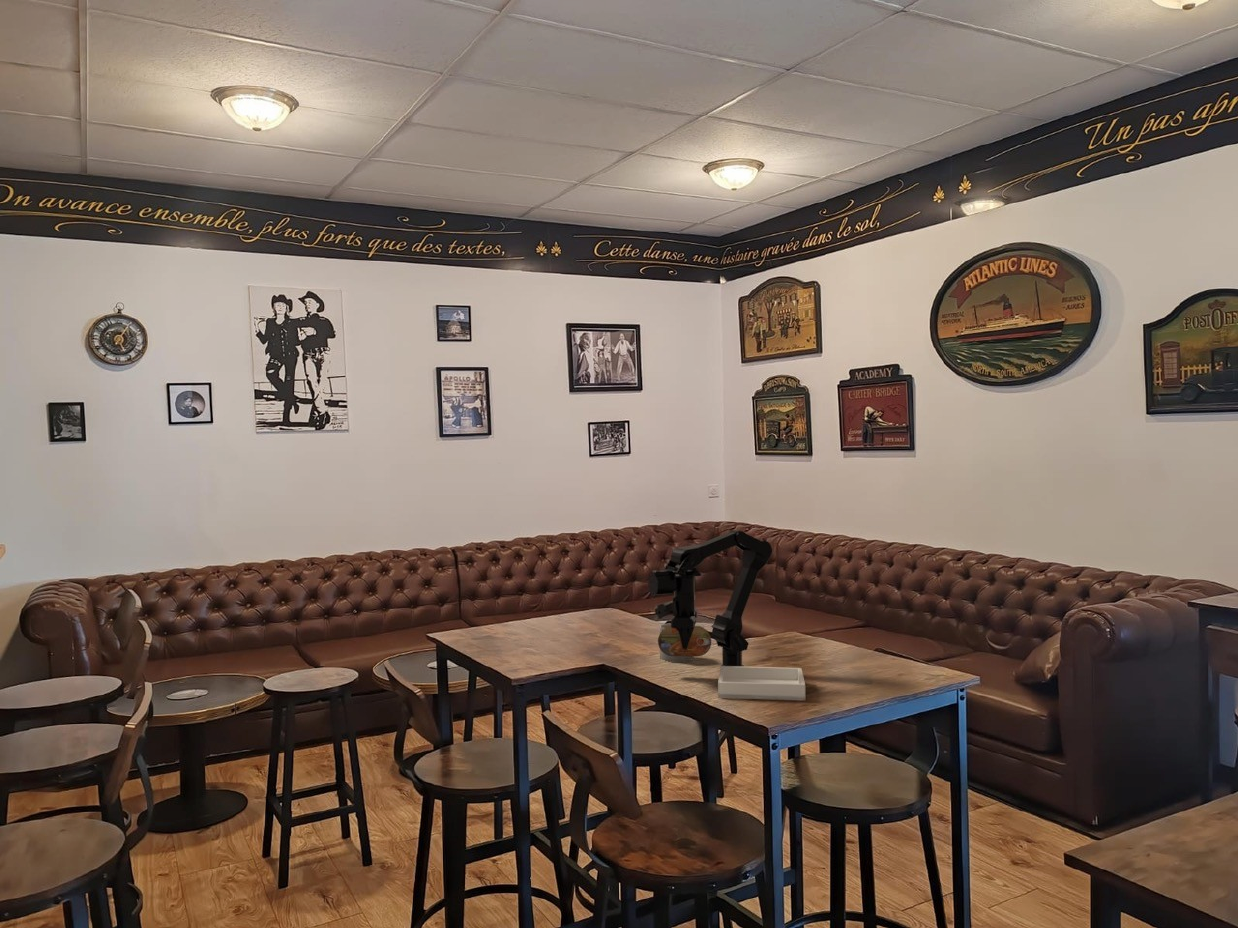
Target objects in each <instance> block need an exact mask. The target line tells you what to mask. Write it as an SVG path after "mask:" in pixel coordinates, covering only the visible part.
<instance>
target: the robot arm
mask: <svg viewBox="0 0 1238 928" xmlns="http://www.w3.org/2000/svg"><path fill="white" fill-rule="evenodd" d="M734 547H737V548H738V549H739V550H741V551H742V554H741V561H742V567H741V570H740V572H739V576H738V578H737V581H736V583H735V586H734V588H733V591H732V594H731V596H730V599H729V602H728V604H727V607H726V609H725V611H724V613H722V614H721V615H720V614H717V613H716V615H715V618H714V622H713V624H712V625H711V628H712V630H711V635H712V637H713V639H714V640H715V642H716V645H717V647H720V648H722V649H721V650H722V651H721V652H722V653H721V654H722V657H721V658H722V660H721V663H722V664H720V666H741V667H745V665H744V664H743V652H744V651H747V650H748V648H749V647H748V646H749V641H748V640H746V638H744V637H743V635H742V632H743V619H742V618H743V615H744V612H745V609H746V607H747V604H748V601H749V599H750V596H751V593H752V590H753V588H754V584H755V583H756V580H757V578H758V575H759V572H760V571H761V570H762V569H763V568H764V567H765V566H766V565H767V563H768V561H769V560H770V558H771V556H772V555H773V548H772V545H771V543H770V542H769V541H767V540H762V539H759V538H757V537H754V536H752V535H750V534H748V533H746V532H745V531H743V530H738V529H731V530H730V531H728V532H726V533H724V534H720V535H719V536H716V537H714V538H710V539H709V540H707V541H704V542H701V543H699V544H693V545H686V546H680V547H677V548H674V549H673V550H672V553H671V556H670V558H669V560H668V562H667V563H666V565H665V566H664V568H663V570H652V571H651V575H650V576H649V578H648V582H647V585H648V586H647V587H648V591H649V593H650V595H651V596H661V595H664V596H665V595H672V594H673V593H674V596H673V597H672V600H671V601H668V602H661V603H660V604H658V603H657V605H656V606H655V607H654V609H653V610H654V614H655V616H656V617H657V619H658V620H661V619H663V618H665V617H667V616H670V615H672V618H671V621H670V623H671V628H676V629H677V630H678V631H679V635H680V639H681V643H682V648H683V649H687V646H688V643H689V641H690V638H691V635H692V632H693V630H694V627H695V626H696V624H697V620H696V619H697V618H698V609H697V608H696V607H695V606H696V604H695V603H696V602H695V600H696V594H695V591H696V589H695V587H696V586H695V585H696V584H695V577H701V576H702V573H701V572H700V571H699V570H698V569H697V567H698V566H700V564H702V563H703V562H704V561H705V560H706V559H707V558H709V557H711V556H714V555H716V554H719V553H721V552H723V551H726V550H729V549H731V548H734Z"/></svg>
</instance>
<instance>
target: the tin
mask: <svg viewBox="0 0 1238 928" xmlns="http://www.w3.org/2000/svg"><path fill="white" fill-rule="evenodd" d="M657 645H658V648H659V651H660V650H661V651H662V652H663V653H664V654H666V655H668V656H692V657H702V656H704V655H706V654H707V653H708V652H709V651H710V648H711V647H712V637H711V634H710V633H709V631H708V630H707V629H706V628H704V627H703V626H700V625H695V627H694V630H693V632H692V635H691V638H690V641H689V643H688V646H687V649H683V648H682V643H681V639H680V635H679V631H678V630H677V629H676V628H671V626H670V627H667V628H665V629H664V630H663V631H662V632H661V633H660V632H659V635H658V637H657Z"/></svg>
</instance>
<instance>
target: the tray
mask: <svg viewBox="0 0 1238 928" xmlns="http://www.w3.org/2000/svg"><path fill="white" fill-rule="evenodd" d="M803 673H804V672H803V670H802V667H774V666H770V667H769V666H744V667H741V666H721V665H720V667H719V675H718V682H717V690H718V691H717V698H718V699H740V700H772V701H775V700H776V701H777V700H778V701H806V683H805V678H804V677H805V676H804V674H803Z"/></svg>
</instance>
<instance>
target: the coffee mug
mask: <svg viewBox="0 0 1238 928" xmlns="http://www.w3.org/2000/svg"><path fill="white" fill-rule="evenodd" d="M670 626H671V622H669V623H663V624H660V625H659V634H660V633H661V632H662V631H663V630H664V629H665V628H667V627H670ZM661 659H662V660H665V661H664V662H666V661H668V662H667V663H684V662H683V661H687V662H690V661H692V660H693V656H668V655H666V654H664V653H663V652H662V651H661V650H660V649H659V660H661ZM691 659H692V660H691ZM662 660H661V661H662ZM689 660H690V661H689Z"/></svg>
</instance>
